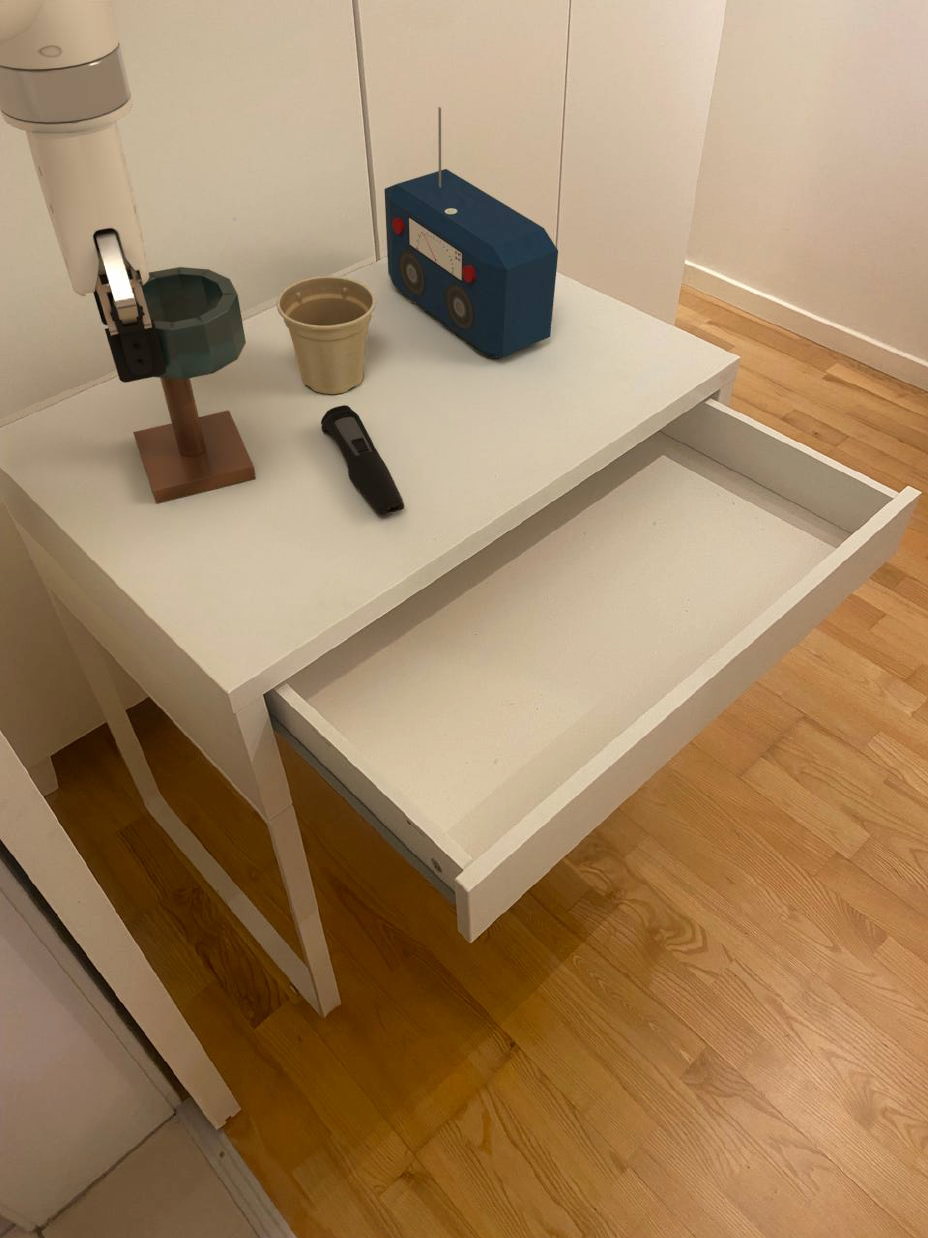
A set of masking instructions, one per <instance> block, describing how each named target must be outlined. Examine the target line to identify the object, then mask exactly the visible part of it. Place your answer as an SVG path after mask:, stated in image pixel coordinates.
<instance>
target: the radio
mask: <svg viewBox="0 0 928 1238" xmlns="http://www.w3.org/2000/svg"><path fill="white" fill-rule="evenodd" d="M437 109H438V110H437V111H438V113H437V114H438V115H437V116H438V170H437V171H434V172H431V173H428V174H425V175H421V176H418V177H415V178H412V179H408V180H404V181H402V182H398V183H395V184H392V185H390V186H388V187H385V188H384V189H383V190H384V209H385V210H384V212H385V232H386V252H387V253H386V255H387V256H386V257H387V274H388V275H389V278H390V281H391V282H392V285H394V287H395V288H396V289H397V290H398V292H399V293H401V294H402V295H403V296H404V297H406V298H408V299H409V300H410V301H411V302H412V303H414V304H415V305H416V306H417V307H419V308H421V309H422V310H424V311H425V312H426V313H427V314H428V315H429V316H432V317H433V318H434V319H435V320H437V321H438V322H439V323H441V325H443V326H444V327H445V328H447V329H448V330H450V331H451V332H453V333H454V334H455V335H456V336H458V337H459V338H460V339H462V340H463V341H464V342H466V343H467V344H468V345H470V346H471V347H472V348H474V349H475V350H476V351H478V352H479V353H480V354H482V355H483V356H484V357H486V358H487V359H495V358H496V359H497V358H504V357H506V356H508V355H511V354H513V353H515V352H517V351H520V350H523V349H525V348H527V347H530V346H532V345H535V344H537V343H539V342H541V341H544V340H546V339H548V338H551V331H552V322H553V310H554V303H555V302H554V301H555V290H556V288H555V287H556V280H557V269H558V260H559V259H558V258H559V250H558V248H557V246H556V245H555V243H554V241H553V240H552V239H551V237H550V235H549V234H548V232H547V230H546V229H545V227H543V226H542V225H540V224H538V223H536V222H535V221H534V220H532V219H530V218H528V217H526V216H525V215H523V214H521V213H520V212H518V211H517V210H515V209H513V208H512V207H510V206H509V205H507V204H505V203H504V202H502V201H500V200H498V199H497V198H495V197H494V196H493V195H490V194H489V193H487V192H486V191H483V190H482V189H480V188H479V187H477V186H476V185H474V184H472V183H471V182H469V181H467V180H466V179H464V178H463V177H460V176H459V175H458V174H456V173H454V172H452V171H450V170H449V169H447V168H443V169H442V107H440V106H438V108H437Z"/></svg>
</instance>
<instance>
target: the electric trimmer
mask: <svg viewBox="0 0 928 1238" xmlns="http://www.w3.org/2000/svg"><path fill="white" fill-rule="evenodd" d="M320 424H321V428H320V430H321V431H322V432H323V434H330V435H331V438H332V439H333V440H334V442H335V443H336V445H337V446H338V448H339V450H340V452H341V454H342V456H343V458H344V461H345V463H346V467H347V474H348V478H349V480H350V481H351V484H353V486H354V487H355V488H356V489H357V490H358V492H359V493H360V494H361V496H362V497H363V498H364V500H366V502H367V503H368V504H369V505H370V507H371V508H372V509H373V510H374V512H375V513H376V514H377V515H378V516H381V517H382V516H385V515H388V514H392V513H396V512H400V511H402V510H404V509H405V503H404V500H403V497H402V496H401V494H400V492H399V489H398V487H397V485H396V483H395V480H394V479H393V477H392V474H391V472H390V470H389V468H388V466H387V465H386V463H385V462H384V460H383V458H382V457H381V455H380V453H379V452H378V450H377V448H376V447H375V444H374V442H373V440H372V438H371V435H369V432H368V431H367V429H366V427H365V425H364V423H363V421H362V419H361V417H360V415H359V414H358V413H357V412H356V411H354V410H353V409H352V408H351V407H350V406H349V405H345V404H344V405H339V406H335V407H332V408H330V409H328V410H327V411H325V413H324V415H323V416H322V418H321V419H320Z"/></svg>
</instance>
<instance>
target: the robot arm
mask: <svg viewBox="0 0 928 1238" xmlns="http://www.w3.org/2000/svg"><path fill="white" fill-rule="evenodd" d="M112 9H113V8H112V4H111V0H0V113H1V114H0V115H1V117H2V119H3V120H4V122H5V123H6V124H8V125H10V126H11V127H13V128H14V129H15V128H16V129H18V130H21V131H25V135H26V139H27V142H28V146H29V151H30V154H31V158H32V161H33V165H34V168H35V169H34V170H35V172H36V175H37V179H38V183H39V185H40V189H41V191H42V195H43V198H44V201H45V204H46V208H47V211H48V215H49V217H50V221H51V224H52V227H53V230H54V233H55V234H54V235H55V237H56V239H57V243H58V246H59V249H60V252H61V256H62V259H63V261H64V265H65V268H66V271H67V274H68V278H69V281H70V284H71V287H72V290H73V292H74V293H76V294H77V295H79V296H80V297H87V296H86V294H90V293H91V294H92V293H93V296H94V300H95V303H96V307H97V310H98V313H99V317H100V320H101V323H102V324H103V325H104V326H107V327H106V328H104V331H105V336H106V338H107V343H108V345H109V349H110V352H111V355H112V359H113V363H114V366H115V369H116V372H117V376H118V380H119V381H120V382H121V383H125V384H126V383H131V382H132V383H133V382H137V381H140V380H146V379H152V378H157V377H156V376H161V375H164V374H165V372H166V368H165V364H164V360H163V356H162V352H161V348H160V343H159V339H158V335H157V331H156V327H155V323H154V321H153V320H150V316H149V313H148V309H147V305H146V302H145V298H144V295H143V291H142V287H141V283H142V285H144V284H145V283H146V282H147V281H148V279H149V265H148V260H147V255H146V254H147V253H146V249H145V244H144V237H143V233H142V227H141V222H140V216H139V213H138V207H137V203H136V198H135V193H134V189H133V188H134V187H133V185H132V181H131V180H132V179H131V175H130V172H129V171H130V170H129V167H128V162H127V159H126V154H125V149H124V145H123V141H122V137H121V134H120V128H119V124H118V121H119V120H120V119H122V118H124V117H125V116H126V115H127V114H128V113H130V111H131V109H132V108H133V105H134V102H133V97H132V93H131V87H130V84H129V80H128V76H127V75H128V74H127V70H126V66H125V62H124V61H125V60H124V58H123V57H124V56H123V52H122V48H121V43H120V40H119V36H118V30H117V26H116V22H115V17H114V13H113V10H112ZM132 289H133V291H134V294H133V291H132ZM134 295H135V298H136V301H135V298H134ZM113 300H114V303H115V306H114V303H113Z"/></svg>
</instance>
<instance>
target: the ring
mask: <svg viewBox="0 0 928 1238" xmlns="http://www.w3.org/2000/svg"><path fill="white" fill-rule="evenodd" d="M141 287H142V291H143V295H144V298H145V302H146V305H147V309H148V313H149V316H150V320H153V321H154V323H155V327H156V331H157V335H158V339H159V343H160V348H161V352H162V356H163V360H164V364H165V368H166V372H165V374H164V375H161V376H156V377H155V378H159V379H160V378H170V379H181V380H184V379H189V378H190V379H193V378H197V377H204V376H208V375H212V374H213V375H214V374H215V373H217V372H219V371H221V370H222V369H223V368H225V367H227V366H229V365H231V364H232V363H234V362H236V361H237V360H239V358H240V355H241V353H242V351H243V349H244V347H245V345H246V343H247V340H246V335H245V328H244V324H243V317H242V312H241V311H242V310H241V306H240V301H239V295H238V292H237V290H236V288H235V285H234V284H233V282H232V280H231V278H228V277H226V276H224V275H222V274H221V273H218V272H215V271H213V270H211V269H209V268H199V267H197V268H196V267H186V266H178V267H172V268H167V269H161V270H156V271H155V270H154V271H150V272H149V279H148V281H147V282H146V283H145V284H144V285H142V283H141ZM132 291H133V289H132ZM133 294H134V291H133ZM134 298H135V295H134ZM135 301H136V298H135ZM113 303H114V300H113ZM114 306H115V303H114Z"/></svg>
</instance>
